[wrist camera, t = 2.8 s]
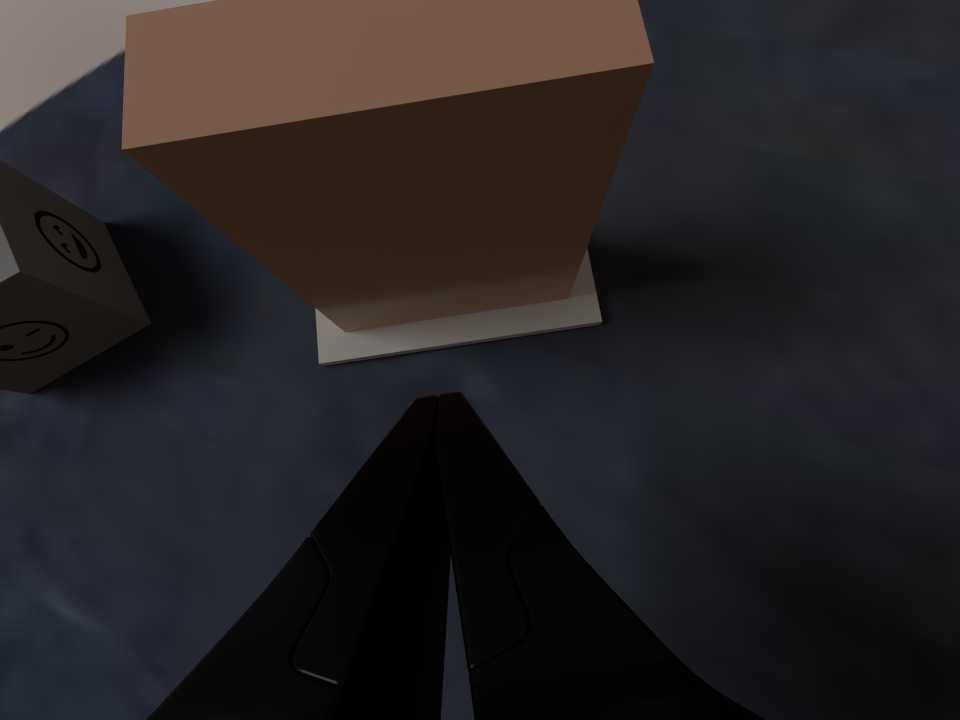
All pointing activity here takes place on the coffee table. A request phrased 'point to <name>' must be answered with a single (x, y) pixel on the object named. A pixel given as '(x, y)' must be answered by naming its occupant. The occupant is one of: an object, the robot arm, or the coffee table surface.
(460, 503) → the robot arm
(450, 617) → the coffee table surface
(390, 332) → the mat
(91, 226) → the dice cube
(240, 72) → the tile
